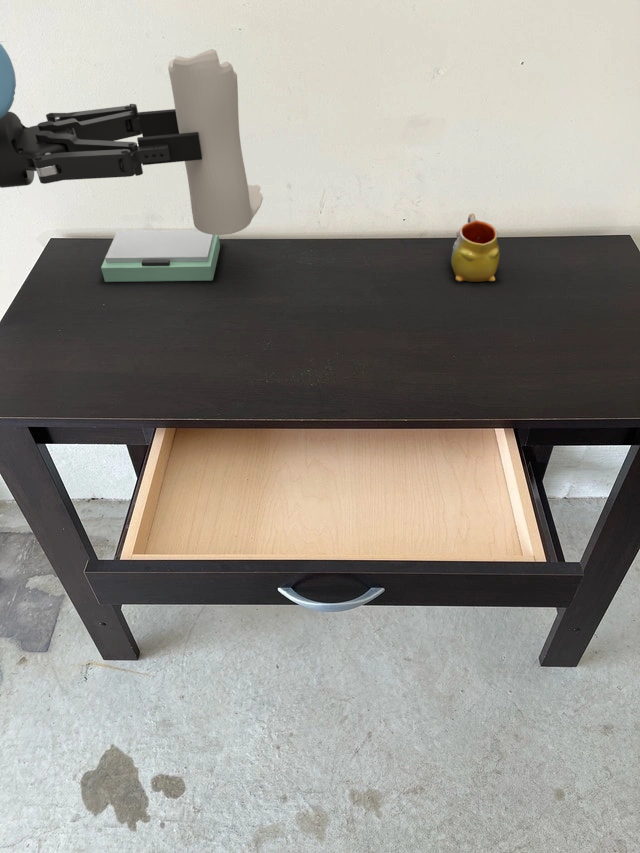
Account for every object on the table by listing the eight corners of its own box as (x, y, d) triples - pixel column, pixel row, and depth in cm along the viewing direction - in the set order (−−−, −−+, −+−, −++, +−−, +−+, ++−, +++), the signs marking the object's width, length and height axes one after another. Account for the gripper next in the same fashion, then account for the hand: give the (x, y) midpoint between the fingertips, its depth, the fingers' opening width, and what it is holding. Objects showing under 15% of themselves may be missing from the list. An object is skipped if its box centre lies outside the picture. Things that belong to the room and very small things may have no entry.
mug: (498, 286, 94) (506, 244, 89) (450, 284, 95) (455, 242, 90) (492, 243, 103) (499, 203, 98) (448, 241, 103) (453, 201, 98)
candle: (273, 186, 89) (260, 17, 75) (241, 238, 79) (220, 55, 65) (222, 182, 90) (201, 14, 76) (185, 232, 81) (152, 51, 66)
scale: (104, 281, 97) (99, 262, 95) (119, 248, 104) (114, 229, 102) (212, 280, 97) (209, 261, 94) (220, 246, 104) (217, 228, 101)
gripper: (12, 150, 81) (198, 132, 84) (-16, 227, 68) (208, 204, 70) (-11, 85, 76) (189, 68, 79) (-46, 154, 62) (198, 132, 65)
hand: (198, 132), depth 74 cm, fingers closed on candle, 7 cm apart
